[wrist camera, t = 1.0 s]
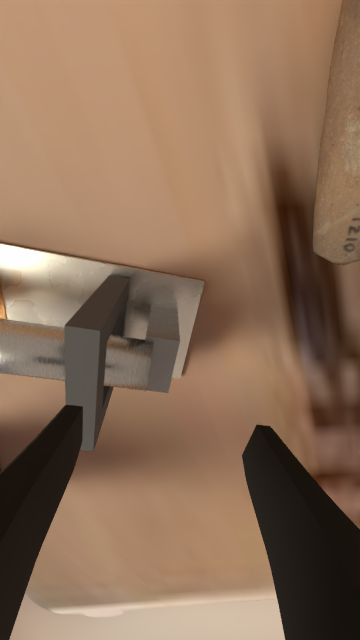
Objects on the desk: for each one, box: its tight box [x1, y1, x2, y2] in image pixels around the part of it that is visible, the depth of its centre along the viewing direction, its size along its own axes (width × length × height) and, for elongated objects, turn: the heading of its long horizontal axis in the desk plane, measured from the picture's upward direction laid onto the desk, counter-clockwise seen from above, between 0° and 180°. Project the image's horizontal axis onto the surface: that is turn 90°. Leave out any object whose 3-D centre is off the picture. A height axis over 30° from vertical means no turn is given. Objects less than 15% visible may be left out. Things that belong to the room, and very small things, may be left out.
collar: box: [64, 275, 129, 452], centre depth 14 cm, size 1×8×8 cm, turn 169°
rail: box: [0, 243, 204, 393], centre depth 14 cm, size 22×9×8 cm, turn 79°
